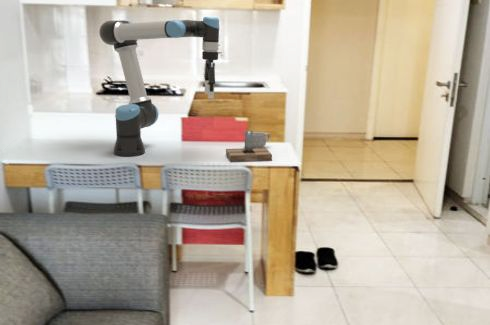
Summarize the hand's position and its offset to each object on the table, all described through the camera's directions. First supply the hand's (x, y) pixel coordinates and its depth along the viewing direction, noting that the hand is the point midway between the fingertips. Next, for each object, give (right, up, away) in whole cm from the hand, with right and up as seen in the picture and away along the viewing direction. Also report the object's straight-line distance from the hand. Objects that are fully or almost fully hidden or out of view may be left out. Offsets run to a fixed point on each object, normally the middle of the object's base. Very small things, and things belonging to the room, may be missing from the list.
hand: (209, 96), depth 255 cm
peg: (+19, -30, +3) cm, 35 cm away
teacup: (+24, -25, +23) cm, 41 cm away
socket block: (+19, -30, +3) cm, 35 cm away
